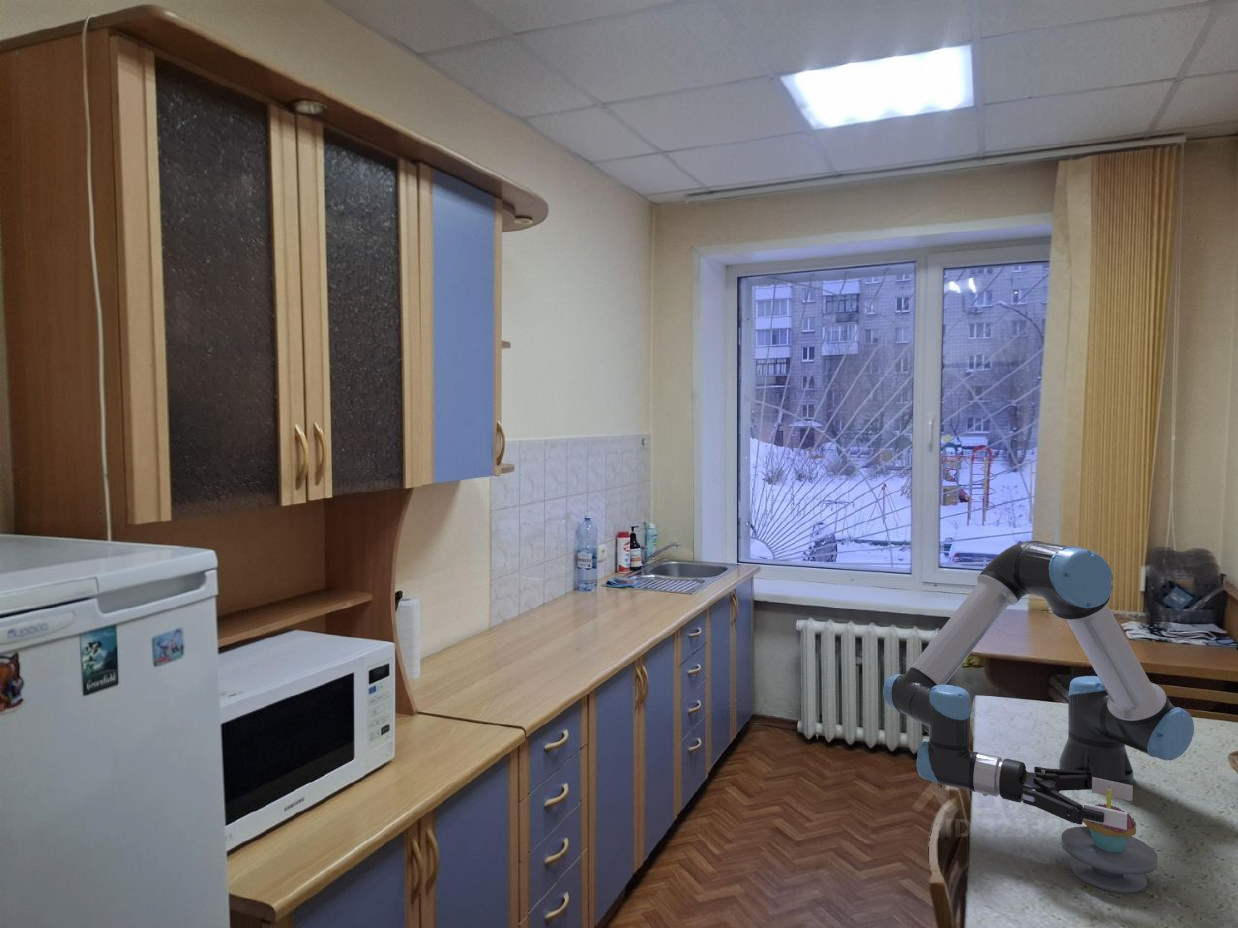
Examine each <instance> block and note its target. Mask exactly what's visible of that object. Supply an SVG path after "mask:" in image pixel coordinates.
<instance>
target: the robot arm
mask: <svg viewBox="0 0 1238 928" xmlns="http://www.w3.org/2000/svg"><path fill="white" fill-rule="evenodd" d="M976 581H977V584H976V585H975V587H974V588H973V589H972V591H970V593H969V594H968V596H966V598H965V599H964V600H963V602H962V603H961V604H960V605H959V607H958V608H957V609H956V610H955V611H954V613H953V614H952V615H951V616H950V618H949V619H948V621H947V622H946V623H945V624H944V625H943V626H942V628H941V629H940V630H939V631H938V633H937V634H936V635H935V637H934V638H933V639H932V640H931V641H930V643H929V644H928V645H927V646H926V647H925V649H924V650H923V651H922V653H921V654H920V655H919V656H918V657H917V659H916V660H915V661H914V663H913V664H911V666H910V668H909V669H908V670H907V671H906V673H905V674H901V673H897V674H896V673H895V674H893V675H891V676H889V677H888V678H887V679H886V680H885V682H884V685H883V688H882V695H883V699H884V701H885V702H886V703H887V705H888V706H890V707H892V708H894V709H895V710H896V711H897V712H898V713H900V714H902V715H905V716H908V717H910V718H912V719H913V720H916V721H917V722H919V723H920V724H923V725H924V726H927V727H928V728H929V741H927V740H925V741H922V742H921V743H920V744H919V747H918V750H917V755H916V756H917V757H916V770H917V773H918V776H919V777H920V778H922V779H924V780H927V781H930V782H933V783H937V784H939V785H943V786H948V787H953V788H958V789H961V790H966V791H971V792H975V793H979V794H982V796H983V797H988V796H990V797H991V796H992V797H995V798H997V797H999V795H1000V797H1001V798H1002V799H1003V800H1007V801H1011V802H1015V803H1023V804H1024V805H1028V806H1032V807H1035V808H1037V809H1039V810H1043V811H1044V812H1047V813H1049V814H1051V815H1054V816H1056V817H1058V818H1060V819H1063V820H1065V821H1067V822H1070V823H1072V824H1076V825H1083V824H1084V822H1083V820H1087V821H1092V822H1096V823H1100V824H1104V825H1108V826H1112V827H1116V828H1121V829H1125V830H1127V814H1128V812H1125V811H1124V812H1121V811H1117V810H1113V809H1108V808H1104V807H1100V806H1095V805H1096V804H1095V805H1094V804H1090V803H1085V802H1084V803H1083V805H1082V804H1081V803H1078V802H1077V801H1075V800H1074V799H1071V798H1070V797H1068V796H1066V795H1065V794H1063V793H1061V792H1062V791H1087V790H1088V791H1089V790H1090V791H1091V793H1092V794H1093V793H1094V794H1098V795H1103V796H1106V797H1107V789H1108V788H1109V785H1110V789H1111V798H1115V799H1119V800H1125V801H1129V802H1133V795H1134V794H1133V790H1134V789H1133V788H1134V786H1133V783H1134V770H1133V767H1132V764H1131V760H1130V757H1129V755H1128V752H1127V749H1126V746H1127V747H1129V748H1132V749H1134V750H1137V751H1139V752H1142V753H1144V754H1146V755H1148V756H1149V757H1152V758H1156V759H1159V760H1163V761H1173V760H1176V759H1178V758H1180V757H1182V755H1183V754H1185V753H1186V751H1187V750H1188V748H1189V747H1190V745H1191V744H1192V741H1193V737H1194V734H1195V722H1194V719H1193V717H1192V715H1191V713H1189V712H1188V711H1187V710H1185V709H1183V708H1182V707H1179V706H1178V707H1177V706H1174V705H1173V704H1172V702H1170V699H1169V697H1168V695H1167V694H1166V692H1165V690H1164V689H1163V688H1162V687H1161V686H1159V685H1158V684H1155V683H1153V682H1151V681H1150V679H1149V677H1148V675H1147V673H1146V672H1145V670H1144V668H1143V667H1142V664H1141V663H1140V661H1139V659H1138V657H1137V656H1136V654H1135V652H1134V650H1133V648H1132V647H1131V645H1130V643H1129V641H1128V639H1127V637H1126V636H1125V634H1124V632H1123V630H1122V628H1121V627H1120V625H1119V623H1118V621H1117V619H1116V617H1115V615H1114V613H1113V612H1112V610H1111V608H1110V607H1109V603H1110V602H1111V597H1112V592H1113V590H1114V584H1112V581H1114V575H1113V570H1112V568H1111V567H1110V565H1109V563H1108V562H1107V561H1106V559H1104V558H1103V556H1102V555H1100V554H1098V553H1097V552H1095V551H1094V550H1091V549H1090V550H1089V549H1086V548H1083V547H1079V546H1070V545H1069V546H1068V545H1062V544H1056V543H1050V542H1044V541H1039V540H1026V541H1025V540H1024V541H1022V542H1018V543H1016V544H1012V546H1009V547H1008V548H1006V549H1005V550H1003V551H1002V552H1000V553H999V554H998V555H997V556H995V557H994V558H993V559H992V560H991V561H990V562H989V563H988V564H987V565H986V566H985V568H983V569H982V570H981V572H980V573H979V575H978V576H977V577H976ZM1027 595H1033V596H1037V597H1040V598H1043V599H1044V600H1045V601H1046V602H1047V604H1048V606H1049V608H1050V610H1051V611H1052V614H1054V615H1055V617H1057V618H1058V619H1060V620H1064V621H1066V622H1067V624H1068V626H1069V628H1070V630H1071V631H1072V633H1073V635H1074V636H1075V638H1076V640H1077V642H1078V644H1079V646H1080V647H1081V649H1082V651H1083V652H1084V654H1085V656H1086V657H1087V659H1088V661H1089V663H1090V665H1091V666H1092V669H1093V670H1094V672H1095V674H1096V675H1097V676H1096V675H1084V676H1077V677H1074V678H1072V679H1071V681H1070V683H1069V690H1068V695H1067V696H1068V709H1067V710H1068V717H1067V719H1068V723H1067V724H1068V731H1067V732H1068V734H1067V740H1066V742H1065V745H1064V747H1063V750H1062V752H1061V753H1060V757H1059V761H1058V762H1059V763H1058V764H1059V765H1058V768H1046V767H1042V766H1034V767H1033V771H1032V772H1031V771H1027V766H1026V764H1025V763H1024V762H1023V761H1019V760H1015V759H1010V758H1004V759H1002V758H1001V756H999V755H993V754H988V753H984V752H977V751H973V750H971V749H970V747H971V746H970V744H971V743H970V740H971V739H970V738H971V734H970V733H971V715H972V710H971V698H970V697H971V696H970V694H969V692H968V690H966V689H965V688H963V687H960V686H955V685H951V684H947V683H948V682H949V681H950V679H951V678H952V676H953V675H955V673H956V672H957V670H958V669H959V668H960V667H961V666H962V664H963V663H964V662H965V661H966V659H967V658H968V657H969V656H970V654H971V653H972V652H973V650H974V649H975V648H976V646H977V645H978V644H979V643H980V642H981V640H982V639H983V637H984V636H985V635H986V634H987V633H988V631H990V629H991V628H992V627H993V625H995V623H996V621H998V619H999V618H1000V616H1002V614H1003V613H1004V612H1005V610H1006V609H1008V607H1009V606H1015V605H1017V604H1018V602H1019V601H1020V600H1021V599H1022V598H1023V597H1024V596H1027Z"/></svg>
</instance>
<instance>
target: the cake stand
mask: <svg viewBox="0 0 1238 928" xmlns="http://www.w3.org/2000/svg"><path fill="white" fill-rule="evenodd" d="M1061 846H1062V848H1063V850H1064V851H1065V852H1066V853H1067V854H1068V855H1069V856H1071V857H1072V858H1071V859H1070V861H1069V863H1070V864H1069V869H1070V870H1071V871H1070V872H1072V874H1073V875H1074V876H1075V877H1076V878H1078V879H1079V880H1081V881H1082V882H1084V883H1086V884H1087V885H1089V886H1092V887H1094V888H1096V889H1100V890H1103V891H1106V892H1112V893H1115V894H1116V893H1117V894H1125V895H1126V894H1127V895H1128V894H1129V895H1131V894H1138V893H1141V892H1144V891H1145V890H1146V888H1147V886H1148V879H1147V877H1146V874H1150V873H1152V872H1154V871H1156V870H1157V868H1158V857H1159V856H1158V854H1157V852H1156V851H1155V850H1154V849H1153V848H1152V847H1151V846H1150V845H1149V844H1147V843H1146V842H1143V841H1142V840H1141V839H1139V838H1136V837H1134V836H1131V837H1130V838H1129V840H1128V842H1127V844H1126V847H1125V849H1124V851H1123V852H1119V853H1113V852H1108V851H1105V850H1102V849H1100V848H1098V847H1097V846H1096V845H1095V844H1094V841H1093V838H1092V835H1091V832H1090V830H1089V828H1088V827H1087V825H1083V826H1074V827H1069V828H1067V829H1066V830H1064V831H1063V832H1062V834H1061Z"/></svg>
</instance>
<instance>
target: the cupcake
mask: <svg viewBox="0 0 1238 928" xmlns="http://www.w3.org/2000/svg"><path fill="white" fill-rule="evenodd" d="M1095 806H1100V807H1104V808H1108V809H1113V810H1117V811H1121V812H1125V811H1124V810H1122V809H1121V808H1119V807H1117V806H1114V805H1112V797H1111V789H1110V785H1109V788H1108V789H1107V796H1106V804H1105V803H1104V804H1103V803H1101V804H1100V803H1097V804H1095ZM1083 824H1084V825H1085V826H1087V827H1088V828H1089V830H1090V832H1091V835H1092V838H1093V841H1094V844H1095V845H1096V846H1097V847H1098V848H1100V849H1102V850H1105V851H1108V852H1113V853H1119V852H1123V851H1124V849H1125V847H1126V844H1127V842H1128V840H1129V838H1130V837H1131V836H1132V837H1134V836H1135V835H1136V834H1137V827H1136V826H1137V822H1136V821H1135V818H1133V817H1132V816H1131V815H1130V814H1129V813H1127V830H1125V829H1121V828H1116V827H1112V826H1108V825H1104V824H1100V823H1096V822H1092V821H1087V820H1083Z"/></svg>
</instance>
